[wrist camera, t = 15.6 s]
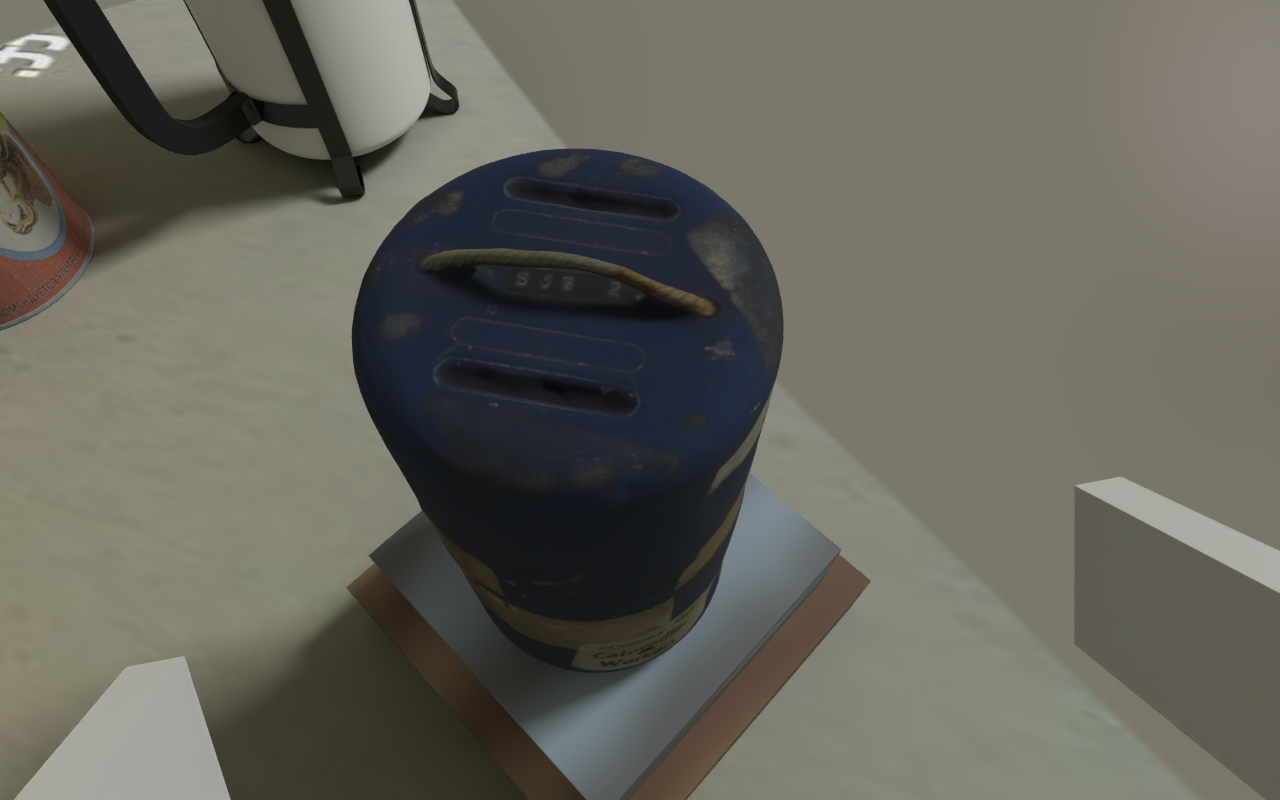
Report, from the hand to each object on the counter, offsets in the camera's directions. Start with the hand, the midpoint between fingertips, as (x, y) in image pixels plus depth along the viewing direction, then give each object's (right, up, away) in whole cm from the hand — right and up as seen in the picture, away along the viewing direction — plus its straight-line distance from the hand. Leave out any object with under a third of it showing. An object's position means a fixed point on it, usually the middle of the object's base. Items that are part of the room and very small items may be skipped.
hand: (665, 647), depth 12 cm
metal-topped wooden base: (-2, -6, +27) cm, 27 cm away
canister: (-2, -2, +20) cm, 20 cm away
